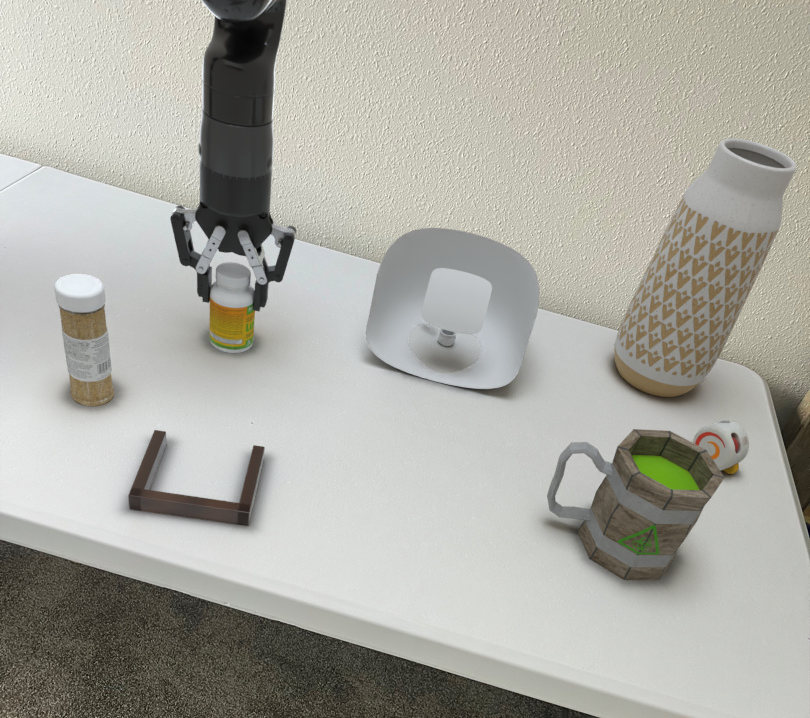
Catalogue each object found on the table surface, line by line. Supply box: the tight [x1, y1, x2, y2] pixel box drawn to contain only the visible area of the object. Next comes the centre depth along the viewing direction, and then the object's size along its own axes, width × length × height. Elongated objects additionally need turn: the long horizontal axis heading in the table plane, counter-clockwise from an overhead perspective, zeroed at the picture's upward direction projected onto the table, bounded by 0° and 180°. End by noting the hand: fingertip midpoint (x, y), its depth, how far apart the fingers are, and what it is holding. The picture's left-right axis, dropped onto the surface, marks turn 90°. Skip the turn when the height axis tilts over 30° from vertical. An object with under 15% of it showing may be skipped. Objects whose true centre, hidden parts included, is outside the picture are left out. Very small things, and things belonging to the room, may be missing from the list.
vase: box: [613, 137, 797, 398], centre depth 100 cm, size 14×14×31 cm
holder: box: [127, 429, 266, 527], centre depth 79 cm, size 11×10×2 cm
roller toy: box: [691, 419, 750, 475], centre depth 97 cm, size 4×6×6 cm
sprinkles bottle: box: [53, 273, 115, 407], centre depth 81 cm, size 5×5×13 cm
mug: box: [546, 428, 725, 581], centre depth 81 cm, size 16×11×12 cm
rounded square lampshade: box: [365, 227, 540, 390], centre depth 103 cm, size 20×19×12 cm
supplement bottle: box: [208, 261, 256, 354], centre depth 94 cm, size 5×5×10 cm
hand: (232, 303), depth 94 cm, fingers closed on supplement bottle, 5 cm apart
